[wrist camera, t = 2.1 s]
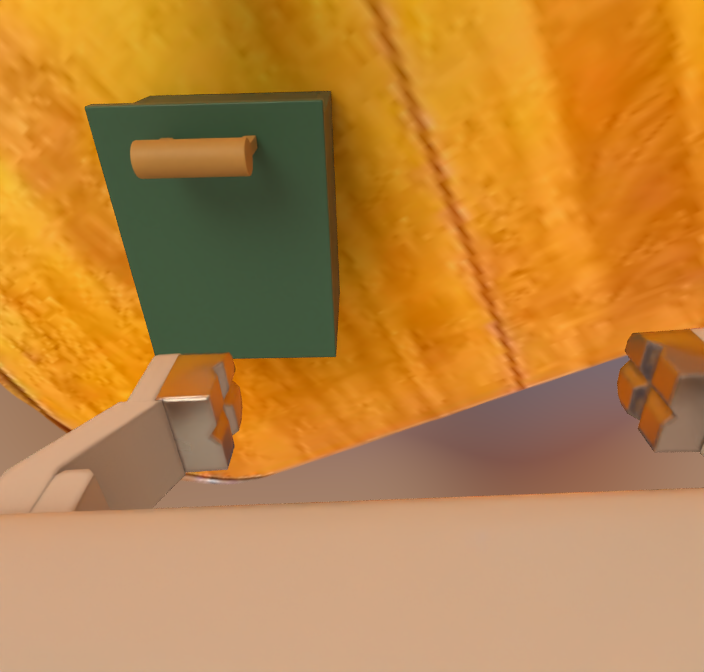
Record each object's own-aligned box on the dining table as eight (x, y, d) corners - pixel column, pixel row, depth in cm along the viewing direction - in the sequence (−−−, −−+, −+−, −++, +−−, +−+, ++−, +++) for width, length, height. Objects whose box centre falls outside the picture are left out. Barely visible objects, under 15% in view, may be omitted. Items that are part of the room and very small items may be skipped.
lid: (90, 103, 28) (42, 121, 23) (323, 97, 27) (318, 114, 23) (159, 353, 37) (134, 399, 32) (336, 350, 36) (334, 396, 32)
